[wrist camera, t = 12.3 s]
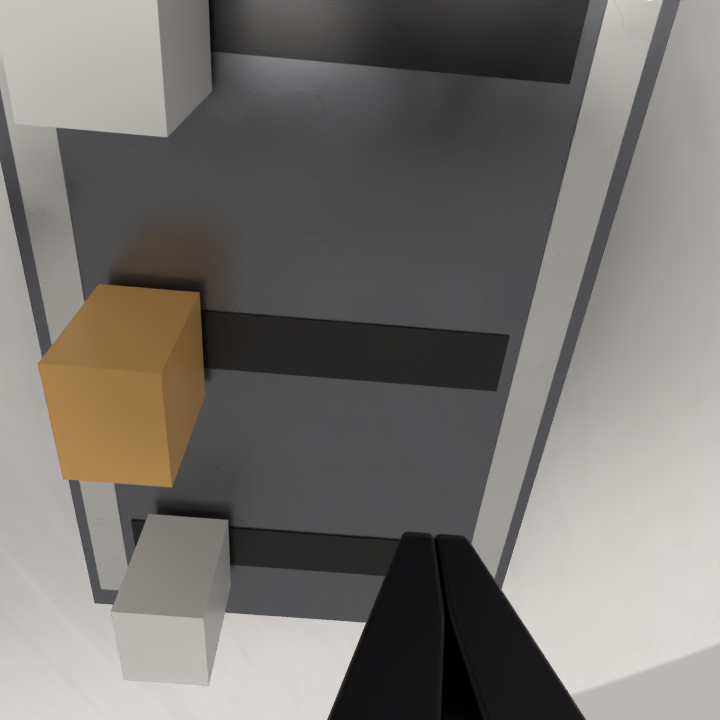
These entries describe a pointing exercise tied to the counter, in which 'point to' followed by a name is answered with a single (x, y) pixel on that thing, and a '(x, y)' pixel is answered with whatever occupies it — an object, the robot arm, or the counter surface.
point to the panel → (352, 271)
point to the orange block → (126, 385)
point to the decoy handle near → (106, 63)
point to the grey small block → (173, 600)
